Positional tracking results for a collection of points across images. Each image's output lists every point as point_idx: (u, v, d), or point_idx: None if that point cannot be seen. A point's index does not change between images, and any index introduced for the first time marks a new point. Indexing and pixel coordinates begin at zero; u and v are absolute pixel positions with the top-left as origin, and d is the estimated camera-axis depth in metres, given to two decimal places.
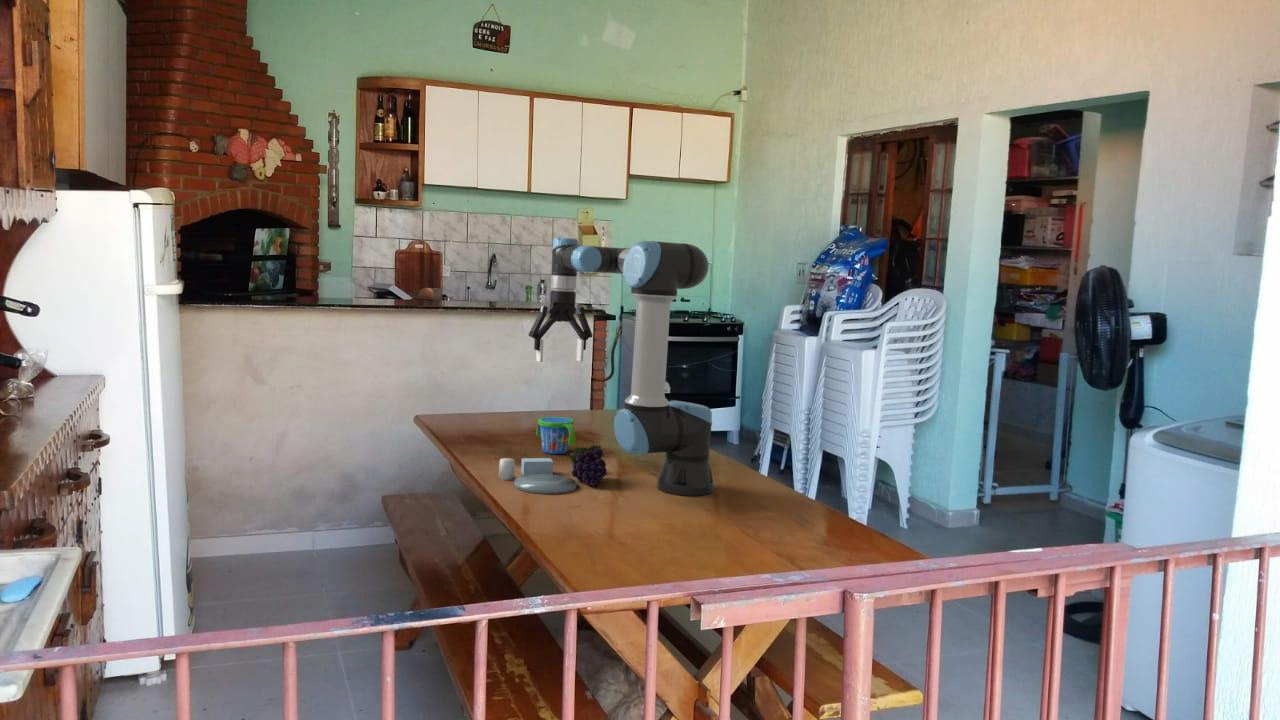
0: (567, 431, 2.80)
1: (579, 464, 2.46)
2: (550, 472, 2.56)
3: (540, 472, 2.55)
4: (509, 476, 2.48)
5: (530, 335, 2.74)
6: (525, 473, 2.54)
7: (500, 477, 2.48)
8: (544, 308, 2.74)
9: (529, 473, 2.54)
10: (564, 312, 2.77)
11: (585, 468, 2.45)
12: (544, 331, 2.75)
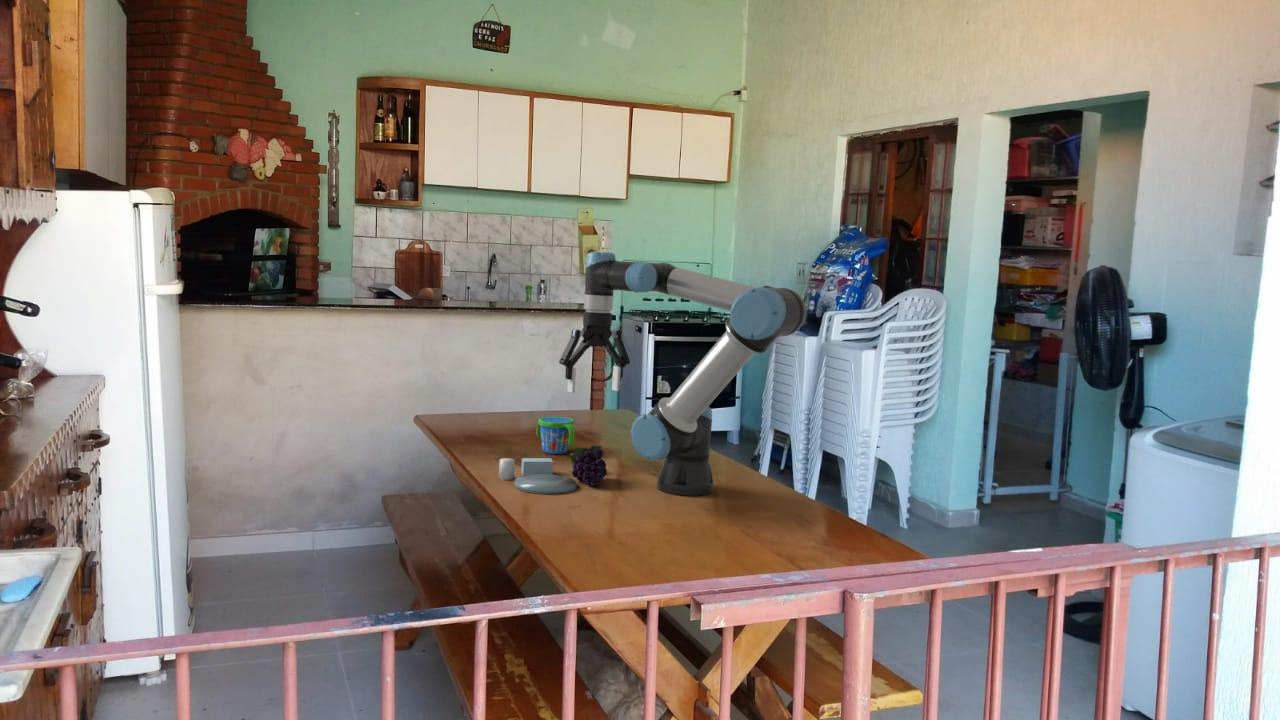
0: (567, 431, 2.80)
1: (579, 464, 2.46)
2: (550, 472, 2.55)
3: (540, 472, 2.55)
4: (509, 476, 2.48)
5: (561, 362, 2.42)
6: (525, 473, 2.54)
7: (500, 477, 2.48)
8: (577, 332, 2.42)
9: (529, 473, 2.54)
10: (599, 336, 2.45)
11: (585, 468, 2.45)
12: (577, 358, 2.43)
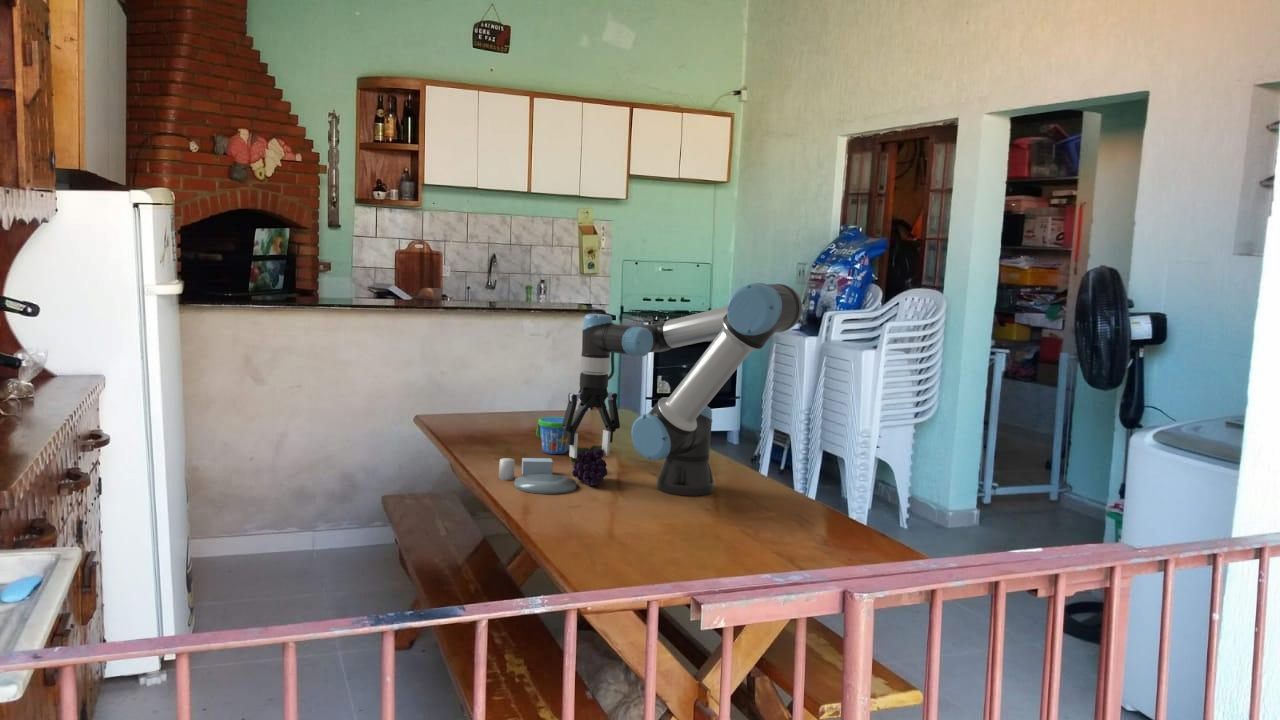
0: None
1: (579, 464, 2.46)
2: (549, 472, 2.55)
3: (539, 472, 2.55)
4: (509, 476, 2.48)
5: (563, 428, 2.44)
6: (524, 473, 2.54)
7: (500, 477, 2.48)
8: (573, 397, 2.43)
9: (528, 473, 2.54)
10: (595, 396, 2.47)
11: (585, 468, 2.44)
12: (577, 423, 2.45)
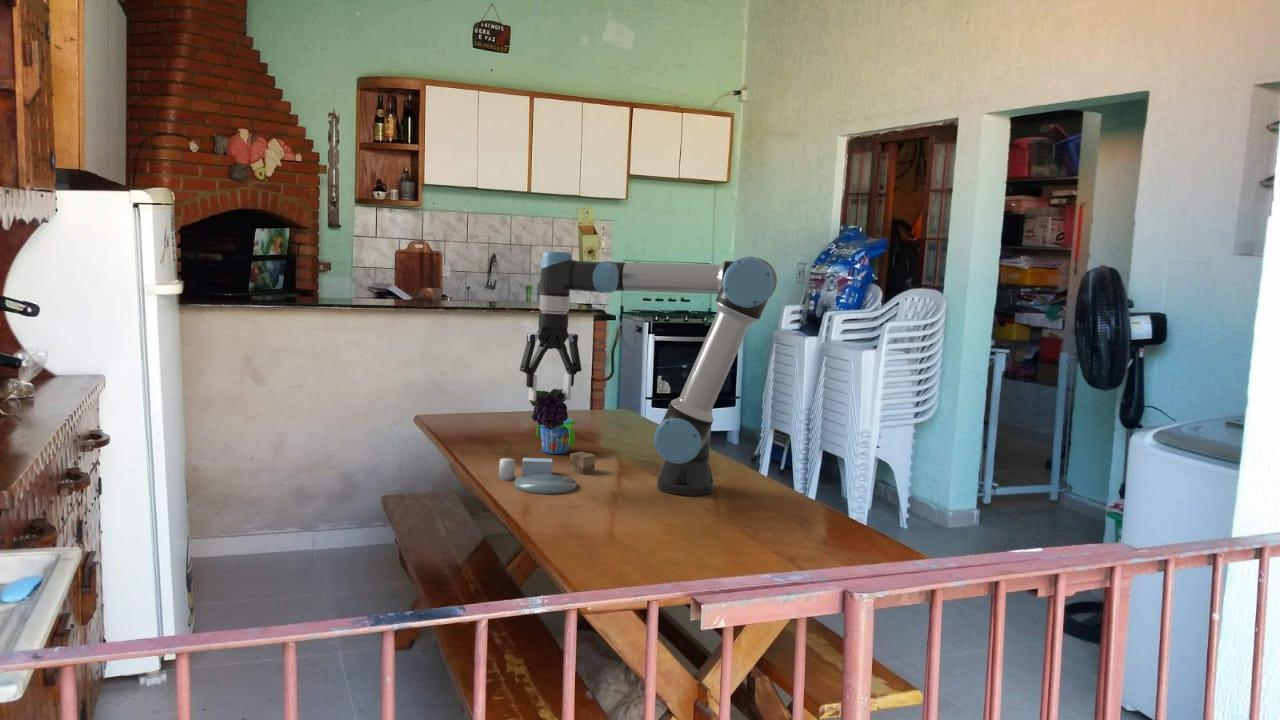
0: (567, 431, 2.80)
1: (539, 407, 2.37)
2: (549, 473, 2.55)
3: (539, 472, 2.55)
4: (509, 476, 2.48)
5: (521, 370, 2.36)
6: (523, 472, 2.54)
7: (500, 477, 2.48)
8: (531, 337, 2.35)
9: (528, 473, 2.54)
10: (555, 337, 2.38)
11: (545, 411, 2.36)
12: (536, 364, 2.36)
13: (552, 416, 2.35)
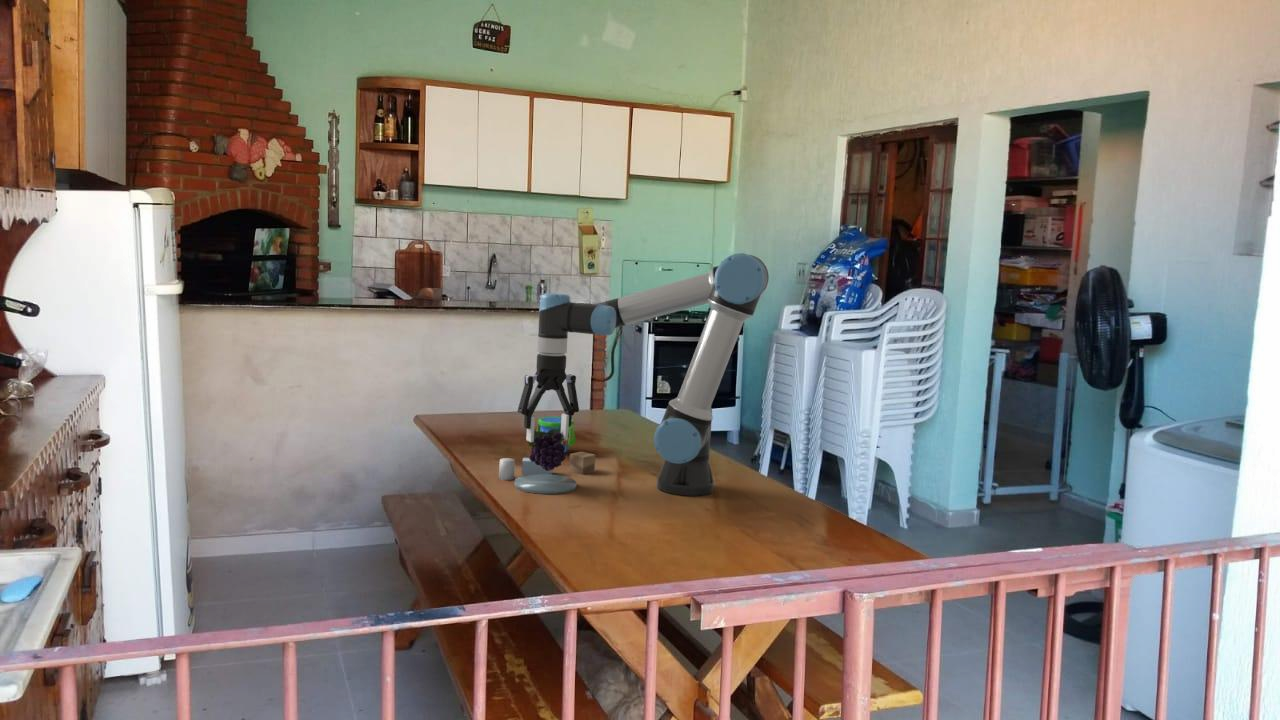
0: None
1: (536, 448, 2.38)
2: (549, 473, 2.55)
3: (538, 472, 2.55)
4: (509, 476, 2.48)
5: (519, 411, 2.37)
6: (523, 472, 2.54)
7: (500, 477, 2.48)
8: (529, 379, 2.36)
9: (527, 473, 2.54)
10: (553, 378, 2.39)
11: (542, 452, 2.37)
12: (534, 406, 2.38)
13: (549, 458, 2.36)
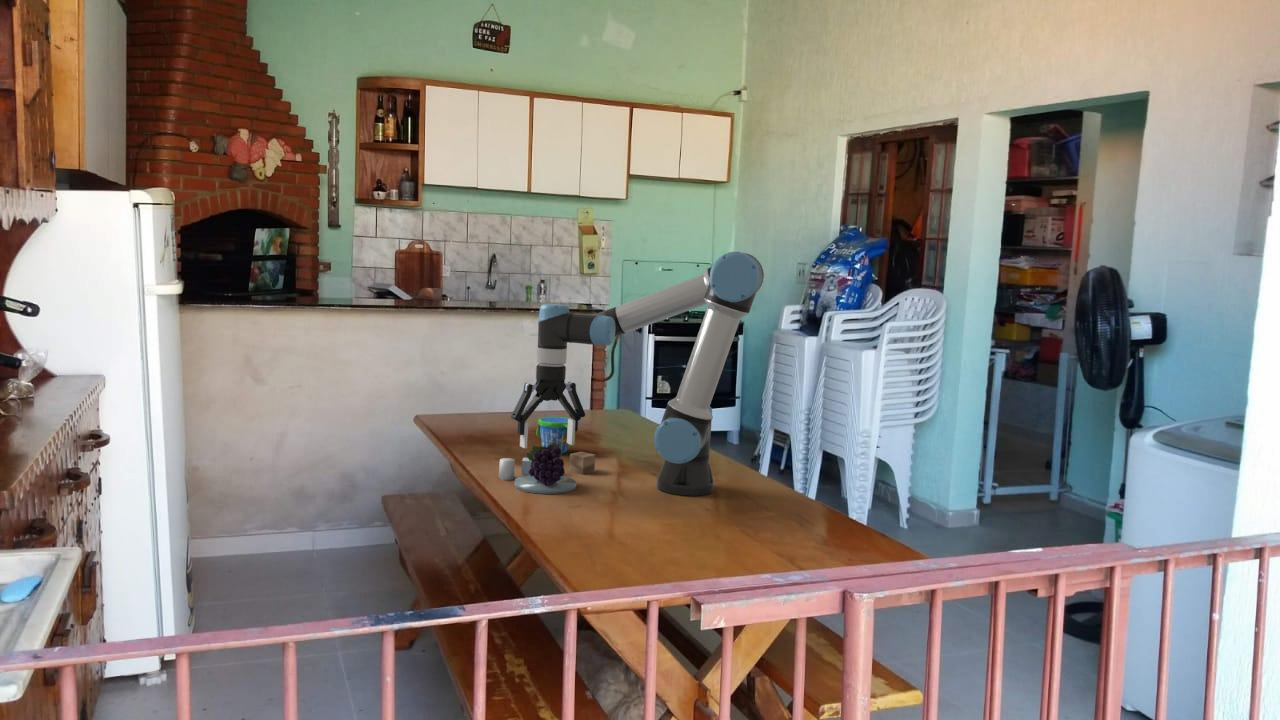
0: None
1: (535, 463, 2.39)
2: None
3: None
4: (509, 476, 2.48)
5: (513, 418, 2.36)
6: (523, 472, 2.54)
7: (500, 477, 2.48)
8: (529, 386, 2.36)
9: (527, 472, 2.54)
10: (552, 390, 2.40)
11: (541, 467, 2.38)
12: (529, 413, 2.37)
13: (549, 473, 2.36)
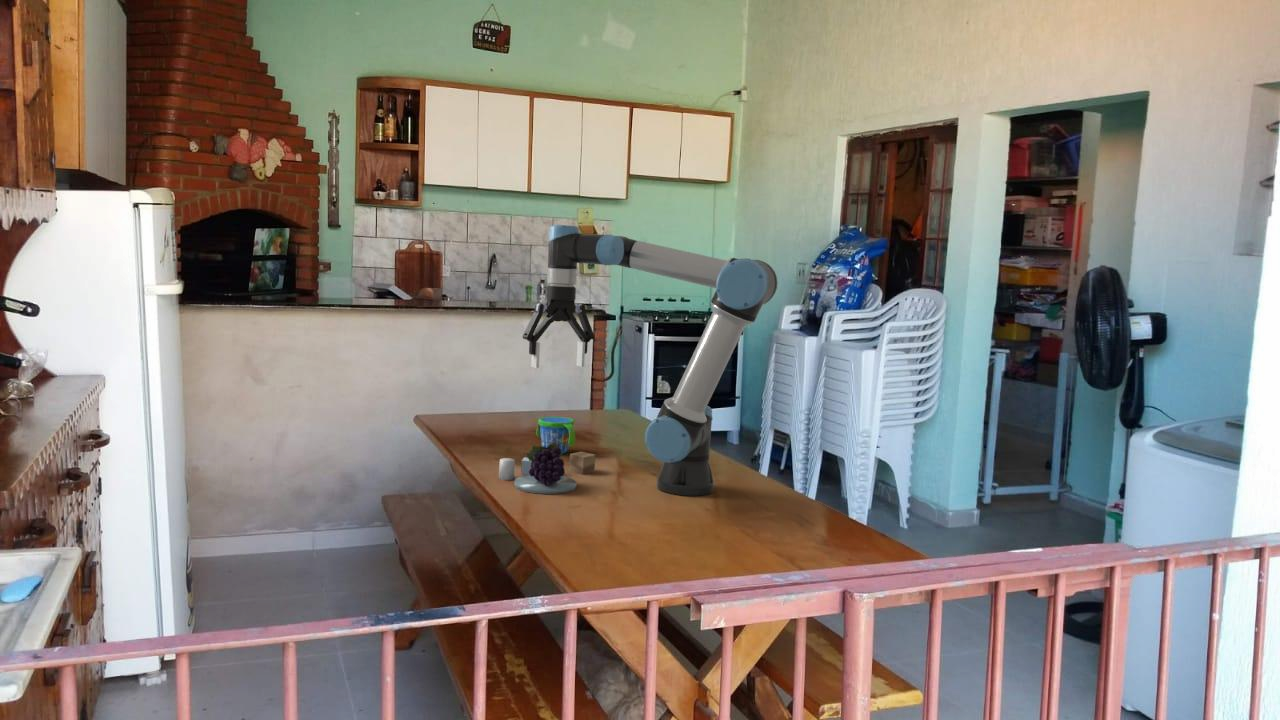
0: (567, 431, 2.80)
1: (535, 463, 2.39)
2: None
3: None
4: (509, 476, 2.48)
5: (524, 337, 2.38)
6: (523, 472, 2.55)
7: (500, 477, 2.48)
8: (540, 306, 2.38)
9: (527, 472, 2.55)
10: (563, 310, 2.42)
11: (541, 467, 2.38)
12: (540, 332, 2.39)
13: (549, 473, 2.36)
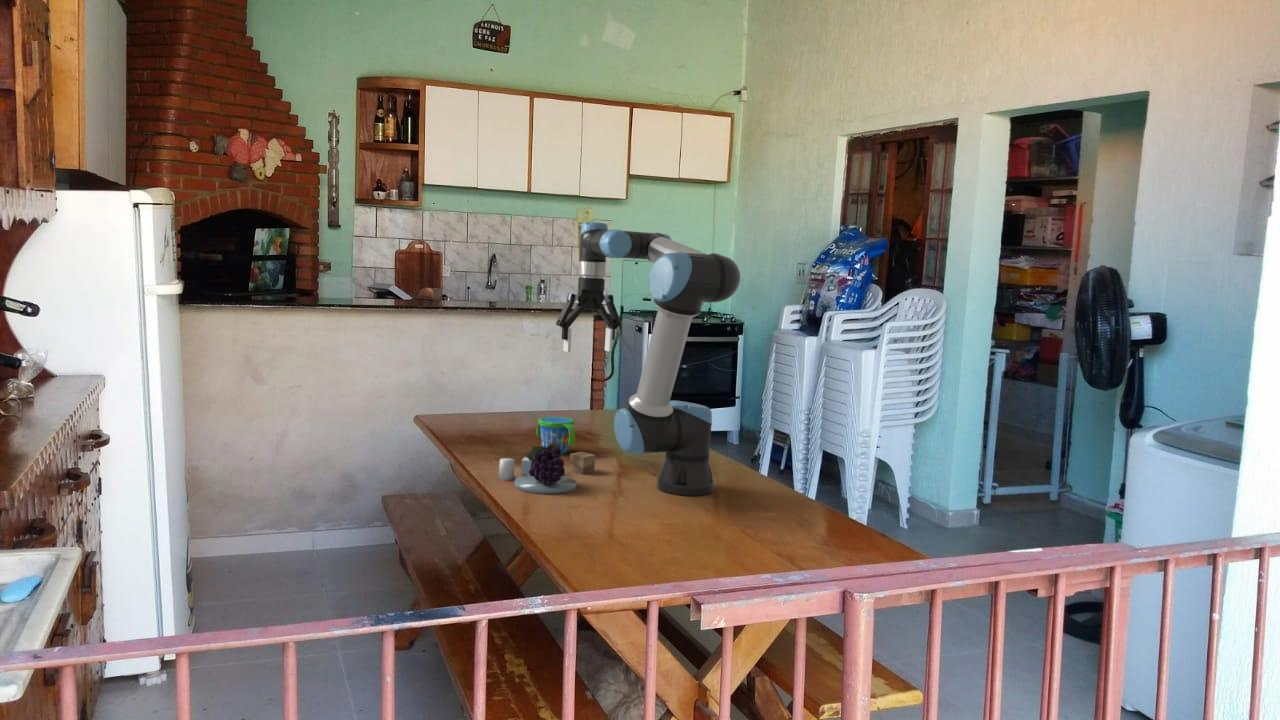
0: (567, 431, 2.80)
1: (535, 463, 2.39)
2: None
3: None
4: (509, 476, 2.48)
5: (557, 324, 2.62)
6: (522, 472, 2.55)
7: (500, 477, 2.48)
8: (572, 296, 2.62)
9: (526, 472, 2.55)
10: (593, 300, 2.66)
11: (541, 467, 2.37)
12: (572, 320, 2.63)
13: (549, 473, 2.36)
